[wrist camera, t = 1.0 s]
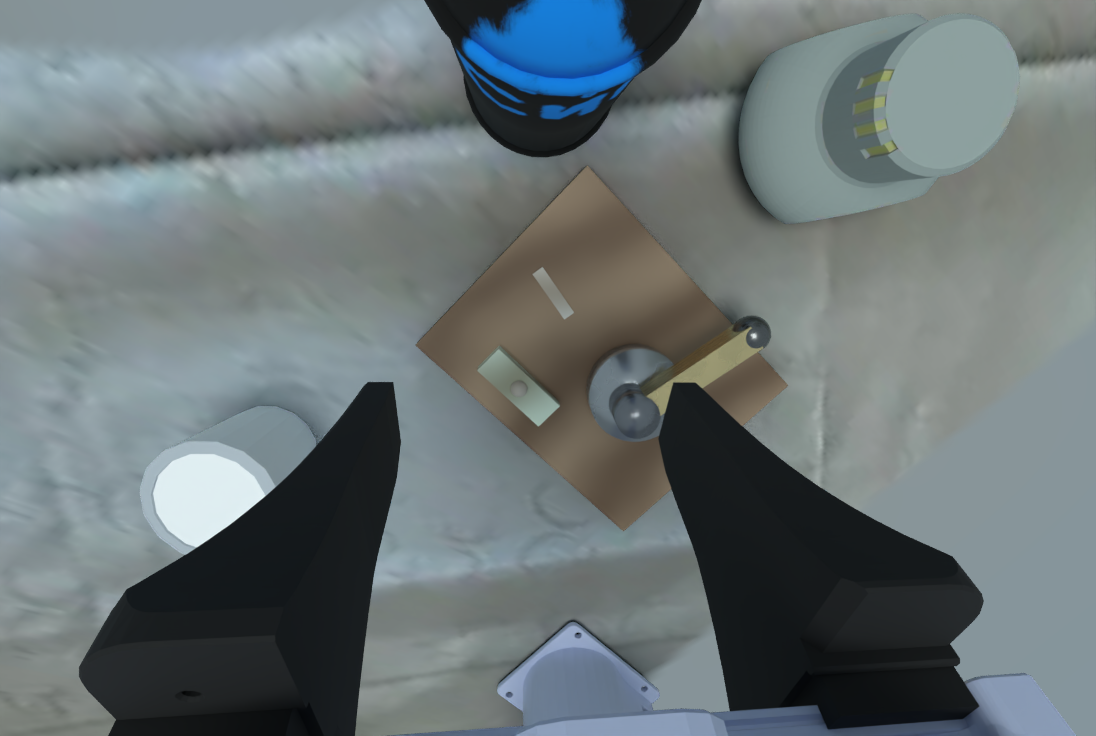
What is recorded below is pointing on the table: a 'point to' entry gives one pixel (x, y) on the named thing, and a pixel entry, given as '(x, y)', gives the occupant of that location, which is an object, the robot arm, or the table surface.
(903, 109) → the air freshener
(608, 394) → the grey and tan lever
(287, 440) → the white cylinder
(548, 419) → the board
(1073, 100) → the table surface
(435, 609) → the table surface
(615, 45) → the aerosol can
